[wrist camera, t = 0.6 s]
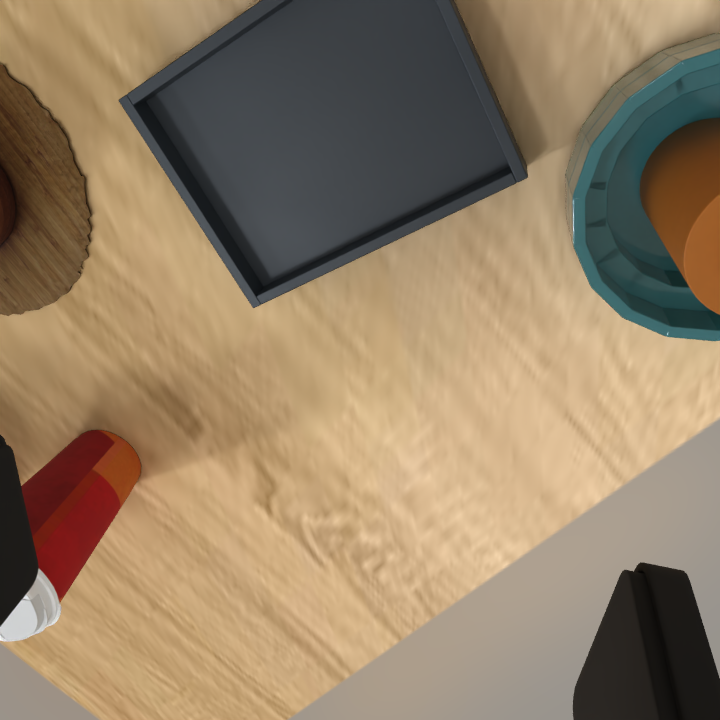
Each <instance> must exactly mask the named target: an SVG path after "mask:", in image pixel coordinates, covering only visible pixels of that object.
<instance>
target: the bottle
mask: <svg viewBox="0 0 720 720" xmlns="http://www.w3.org/2000/svg"><path fill="white" fill-rule="evenodd" d="M640 199H641V203H642V207H643V209H644V211H645V213H646V215H647V217H648V218H649V220H650V222H651V224H652V225H653V227H654V229H655V230H656V232H657V234H658V235H659V237H660V239H661V240H662V242H663V244H664V245H665V247H666V249H667V250H668V252H669V254H670V255H671V257H672V259H673V261H674V262H675V264H676V266H677V267H678V269H679V271H680V272H681V274H682V276H683V277H684V279H685V281H686V282H687V284H688V286H689V287H690V289H691V291H692V292H693V294H694V295H695V296H696V298H697V299H698V300H699V301H700V302H701V303H702V304H703V305H705V306H706V307H707V308H709V309H710V310H712V311H713V312H715V313H717V314H719V315H720V118H710V119H703V120H699V121H695V122H693V123H690V124H687V125H685V126H683V127H681V128H679V129H678V130H676V131H674V132H673V133H672V134H670V135H669V136H668V137H666V138H665V139H664V140H663V141H662V142H661V143H660V144H659V145H658V146H657V147H656V148H655V150H654V151H653V152H652V154H651V155H650V157H649V159H648V160H647V162H646V164H645V167H644V169H643V172H642V176H641V181H640Z"/></svg>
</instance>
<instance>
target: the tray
mask: <svg viewBox="0 0 720 720" xmlns="http://www.w3.org/2000/svg"><path fill="white" fill-rule="evenodd" d="M119 102H120V104H121V105H122V107H123V108H124V110H125V111H126V113H127V114H128V116H129V117H130V119H131V120H132V122H133V124H134V125H135V127H136V128H137V130H138V131H139V133H140V134H141V136H142V137H143V139H144V141H145V142H146V144H147V145H148V147H149V148H150V150H151V151H152V153H153V154H154V156H155V157H156V159H157V161H158V162H159V164H160V165H161V167H162V168H163V170H164V171H165V173H166V174H167V176H168V177H169V179H170V181H171V182H172V184H173V185H174V187H175V188H176V190H177V191H178V193H179V194H180V196H181V198H182V199H183V201H184V202H185V204H186V205H187V207H188V208H189V210H190V211H191V213H192V214H193V216H194V218H195V219H196V221H197V222H198V224H199V225H200V227H201V228H202V230H203V231H204V233H205V235H206V236H207V238H208V239H209V241H210V242H211V244H212V245H213V247H214V248H215V250H216V251H217V253H218V255H219V256H220V258H221V259H222V261H223V262H224V264H225V265H226V267H227V268H228V270H229V271H230V273H231V275H232V276H233V278H234V279H235V281H236V282H237V284H238V285H239V287H240V288H241V290H242V292H243V293H244V295H245V296H246V298H247V299H248V301H249V302H250V304H251V305H252V307H253V308H255V307H257V306H259V305H261V304H263V303H265V302H267V301H270V300H272V299H274V298H276V297H278V296H280V295H282V294H284V293H286V292H288V291H291V290H293V289H295V288H297V287H299V286H301V285H303V284H305V283H307V282H310V281H312V280H314V279H316V278H318V277H320V276H322V275H324V274H326V273H328V272H331V271H333V270H335V269H337V268H339V267H341V266H343V265H345V264H347V263H349V262H352V261H354V260H356V259H358V258H360V257H362V256H364V255H366V254H368V253H371V252H373V251H375V250H377V249H379V248H381V247H383V246H385V245H387V244H389V243H392V242H394V241H396V240H398V239H400V238H402V237H404V236H406V235H408V234H410V233H413V232H415V231H417V230H419V229H421V228H423V227H425V226H427V225H429V224H431V223H434V222H436V221H438V220H440V219H442V218H444V217H446V216H448V215H450V214H453V213H455V212H457V211H459V210H461V209H463V208H465V207H467V206H469V205H471V204H474V203H476V202H478V201H480V200H482V199H484V198H486V197H488V196H490V195H492V194H495V193H497V192H499V191H501V190H503V189H505V188H507V187H509V186H511V185H514V184H516V182H520V181H522V180H524V179H526V178H527V177H528V174H527V165H526V163H525V161H524V159H523V156H522V154H521V152H520V149H519V147H518V145H517V143H516V140H515V138H514V136H513V133H512V131H511V129H510V127H509V124H508V122H507V120H506V117H505V115H504V113H503V111H502V108H501V106H500V104H499V101H498V99H497V97H496V95H495V92H494V90H493V88H492V85H491V83H490V81H489V79H488V76H487V74H486V72H485V69H484V67H483V65H482V63H481V60H480V58H479V56H478V53H477V51H476V49H475V47H474V44H473V42H472V40H471V37H470V35H469V33H468V31H467V28H466V26H465V24H464V22H463V19H462V17H461V15H460V12H459V10H458V8H457V6H456V3H455V1H454V0H261V1H260V2H258V3H257V4H255V5H254V6H253V7H251V8H250V9H248V10H247V11H245V12H244V13H243V14H241V15H240V16H238V17H237V18H235V19H234V20H233V21H231V22H230V23H228V24H227V25H225V26H224V27H223V28H221V29H220V30H218V31H217V32H215V33H214V34H213V35H211V36H210V37H208V38H207V39H205V40H204V41H202V42H201V43H200V44H198V45H197V46H195V47H194V48H192V49H191V50H190V51H188V52H187V53H185V54H184V55H182V56H181V57H180V58H178V59H177V60H175V61H174V62H172V63H171V64H170V65H168V66H167V67H165V68H164V69H162V70H161V71H160V72H158V73H157V74H155V75H154V76H152V77H151V78H149V79H148V80H147V81H145V82H144V83H142V84H141V85H139V86H138V87H137V88H135V89H134V90H132V91H131V92H129V93H128V94H127V95H125V96H124V97H122V98H121V99H119Z"/></svg>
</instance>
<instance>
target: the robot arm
mask: <svg viewBox="0 0 720 720" xmlns="http://www.w3.org/2000/svg"><path fill="white" fill-rule="evenodd" d="M38 569H39V565H38V559H37V555H36V550H35V546H34V541H33V537H32V533H31V528H30V524H29V519H28V515H27V510H26V506H25V502H24V497H23V493H22V488H21V484H20V479H19V475H18V471H17V466H16V462H15V457H14V453H13V450H12V448H11V447H10V446H9V445H6V442H5V439H4V438H3V437H2V436H1V435H0V627H1V625H2V624H3V623H4V622H5V620H6V619H7V618H8V616H9V615H10V614H11V613H12V611H13V610H14V609H15V608H16V606H17V605H18V604H19V603H20V601H21V600H22V599H23V598H24V596H25V595H26V594H27V592H28V591H29V590H30V589H31V587H32V586H33V584H34V582H35V580H36V577H37V574H38ZM573 717H574V720H720V678H719V675H718V672H717V669H716V665H715V662H714V659H713V655H712V652H711V649H710V646H709V642H708V639H707V636H706V632H705V629H704V626H703V623H702V619H701V616H700V613H699V609H698V606H697V603H696V600H695V597H694V593H693V590H692V587H691V583H690V580H689V578H688V576H687V574H686V573H685V572H684V571H682V570H677V569H672V568H667V567H662V566H657V565H652V564H647V563H639V564H638V565H637V567H636V569H635V570H634V572H633V571H629V570H624V571H622V573H621V575H620V577H619V580H618V582H617V585H616V587H615V590H614V592H613V594H612V597H611V599H610V602H609V604H608V607H607V609H606V612H605V614H604V617H603V619H602V622H601V624H600V626H599V629H598V631H597V634H596V636H595V639H594V641H593V644H592V646H591V649H590V651H589V654H588V657H587V659H586V661H585V664H584V666H583V668H582V671H581V674H580V676H579V678H578V681H577V684H576V686H575V691H574V697H573Z"/></svg>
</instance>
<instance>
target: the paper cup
mask: <svg viewBox="0 0 720 720" xmlns="http://www.w3.org/2000/svg"><path fill="white" fill-rule="evenodd" d="M140 473H141V464H140V460H139V457H138V455H137V454H136V452H135V451H134V449H133V448H132V447H131V446H130V445H129V444H128V443H127V442H126V441H125V440H123V439H122V438H120V437H119V436H117V435H115V434H113V433H110V432H107V431H102V430H91V431H87V432H85V433H83V434H81V435H80V436H79V437H77V438H76V439H75V440H74V441H72V442H71V443H70V444H69V445H68V446H67V447H66V448H64V449H63V450H62V451H61V452H60V453H59V454H58V455H56V456H55V457H54V458H53V459H52V460H51V461H50V462H49V463H48V464H46V465H45V466H44V467H43V468H42V469H41V470H40V471H38V472H37V473H36V474H35V475H34V476H33V477H31V478H30V479H29V480H28V481H27V482H26V483H25V484H23V485H22V486H21V488H22V493H23V497H24V502H25V506H26V510H27V515H28V519H29V524H30V528H31V533H32V537H33V541H34V546H35V550H36V555H37V559H38V565H39V569H38V574H37V577H36V580H35V582H34V584H33V586H32V587H31V589H30V590H29V591H28V592H27V594H26V595H25V596H24V598H23V599H22V600H21V601H20V603H19V604H18V605H17V606H16V608H15V609H14V610H13V611H12V613H11V614H10V615H9V616H8V618H7V619H6V620H5V622H4V623H3V624H2V625H1V627H0V641H18V640H24V639H26V638H28V637H30V636H31V635H34V634H38V633H40V632H42V631H43V630H44V629H45V627H47V626H50V625H53V624H55V623H56V621H57V620H58V619H59V616H60V614H61V605H60V602H61V600H62V599H63V597H64V596H65V594H66V593H67V591H68V589H69V588H70V586H71V585H72V583H73V582H74V580H75V579H76V577H77V575H78V574H79V572H80V571H81V569H82V568H83V566H84V565H85V563H86V561H87V560H88V558H89V557H90V555H91V554H92V552H93V551H94V549H95V547H96V546H97V544H98V543H99V541H100V540H101V538H102V536H103V535H104V533H105V532H106V530H107V529H108V527H109V526H110V524H111V522H112V521H113V519H114V518H115V516H116V515H117V513H118V511H119V510H120V508H121V507H122V505H123V503H124V502H125V500H126V499H127V497H128V495H129V494H130V492H131V490H132V489H133V487H134V486H135V484H136V482H137V480H138V478H139V476H140Z"/></svg>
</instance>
